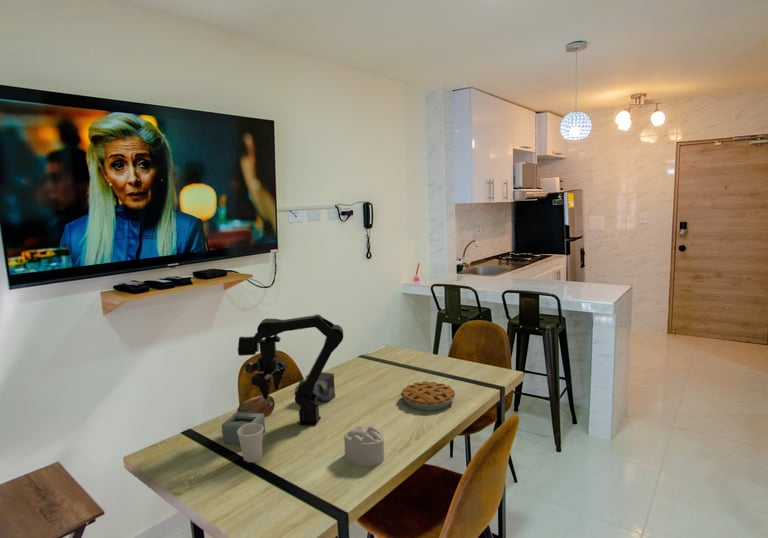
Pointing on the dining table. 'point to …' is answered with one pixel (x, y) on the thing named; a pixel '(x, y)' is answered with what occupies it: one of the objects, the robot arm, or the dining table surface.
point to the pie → (428, 396)
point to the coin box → (232, 426)
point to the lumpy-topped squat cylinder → (364, 446)
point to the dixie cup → (251, 441)
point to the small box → (324, 387)
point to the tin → (257, 405)
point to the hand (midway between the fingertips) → (271, 394)
